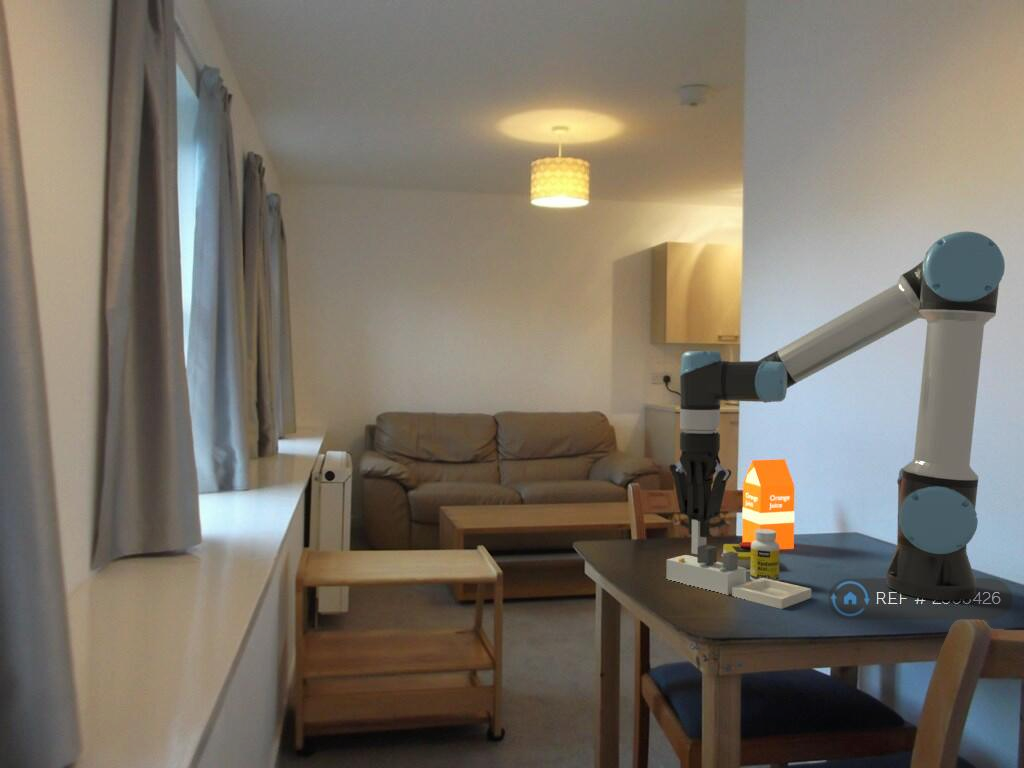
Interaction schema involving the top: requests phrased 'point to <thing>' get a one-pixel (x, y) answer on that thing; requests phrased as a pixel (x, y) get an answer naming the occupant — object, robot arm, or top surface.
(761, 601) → the shallow cream rectangular tray
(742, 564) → the emergency button
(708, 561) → the switch
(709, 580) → the long low white box
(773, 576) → the supplement bottle
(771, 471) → the orange juice
